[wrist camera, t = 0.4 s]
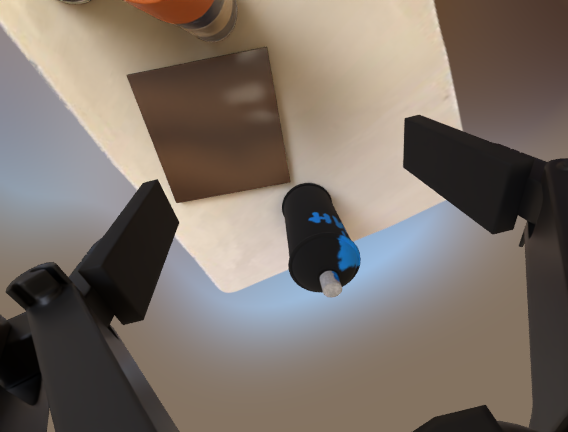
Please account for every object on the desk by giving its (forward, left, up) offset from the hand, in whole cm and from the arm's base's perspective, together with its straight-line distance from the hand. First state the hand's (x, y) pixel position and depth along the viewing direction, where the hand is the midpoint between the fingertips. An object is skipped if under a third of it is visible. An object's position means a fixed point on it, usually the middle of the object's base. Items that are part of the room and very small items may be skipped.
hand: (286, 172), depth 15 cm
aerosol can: (+15, +2, -27) cm, 31 cm away
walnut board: (+1, -9, -27) cm, 28 cm away
